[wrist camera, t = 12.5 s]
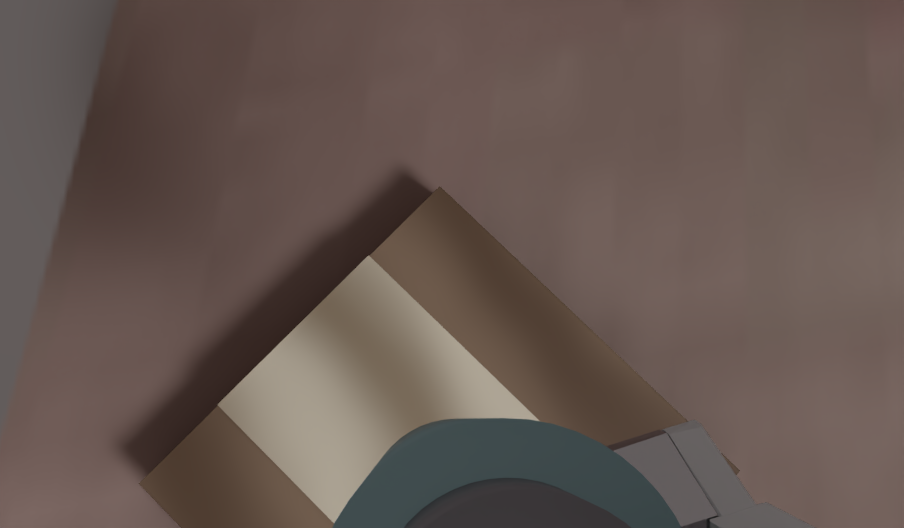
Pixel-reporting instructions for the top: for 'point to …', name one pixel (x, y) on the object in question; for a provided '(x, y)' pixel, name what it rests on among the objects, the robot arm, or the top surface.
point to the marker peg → (503, 481)
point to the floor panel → (399, 379)
